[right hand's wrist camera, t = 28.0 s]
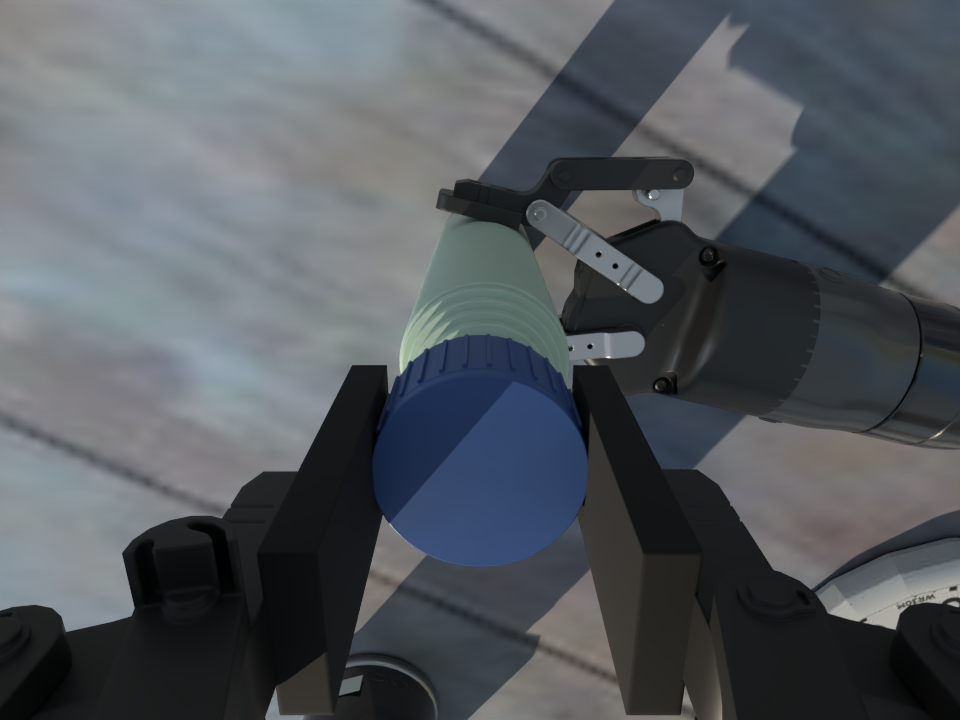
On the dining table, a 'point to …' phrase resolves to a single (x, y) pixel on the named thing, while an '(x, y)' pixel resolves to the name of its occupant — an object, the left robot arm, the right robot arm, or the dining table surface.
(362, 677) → the left robot arm
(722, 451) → the dining table surface
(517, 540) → the cap
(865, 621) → the wall clock
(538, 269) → the bottle
